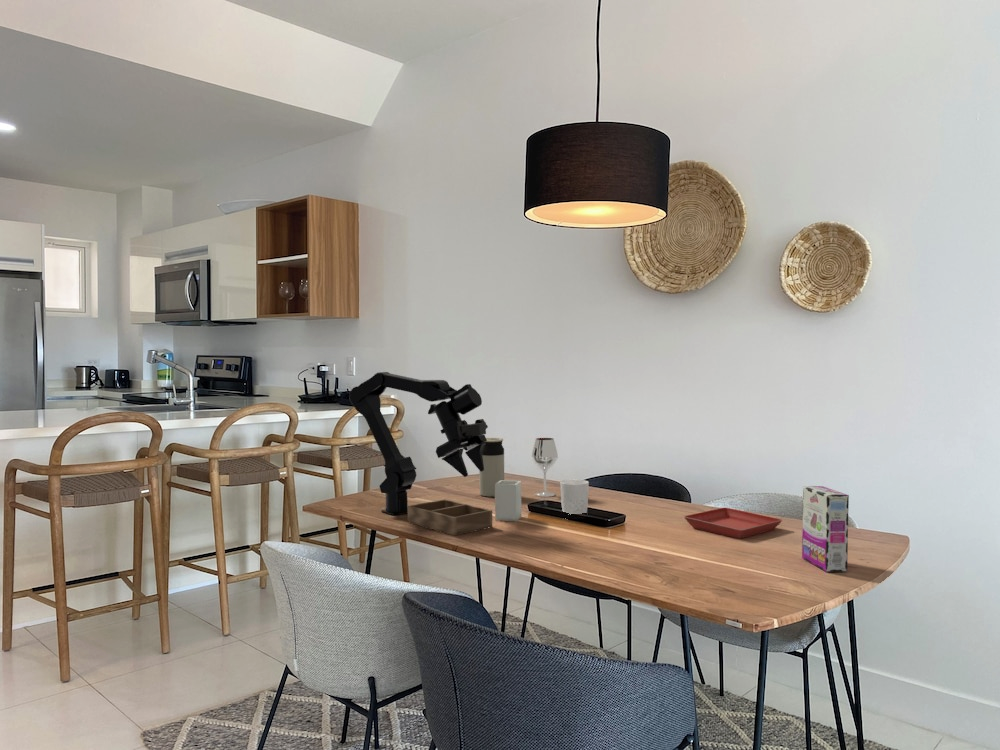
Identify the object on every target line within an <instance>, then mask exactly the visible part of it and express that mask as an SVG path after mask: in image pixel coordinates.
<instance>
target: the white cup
mask: <svg viewBox="0 0 1000 750" xmlns="http://www.w3.org/2000/svg"><path fill="white" fill-rule="evenodd" d="M589 483H590V482H589V481H588V480H586V479H585V480H584V479H576V478H575V479H564V480H561V481H560V483H559V485H560V486H559V487H560V501H561V508H562V509H561V510H562V511H563V512H566V513H569V514H570V515H571V514H582V513H587V514H588V506H589V505H588V504H589V485H590V484H589ZM569 514H568V515H569ZM565 520H567V519H566V518H565Z"/></svg>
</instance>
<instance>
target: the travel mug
mask: <svg viewBox="0 0 1000 750" xmlns="http://www.w3.org/2000/svg"><path fill="white" fill-rule="evenodd" d="M486 439H487V441H486V442H484V443H486V444H485V445H484V447H483V449H482V457H483V464H484V471H482V472H481V471H480V470H479V469H478V471H479V473H478V475H479V476H478V477H479V478H478V479H479V495H480V496H482V497H485V496H486V498H490V497H491V498H495V484H496V483H497V482H499V481H500V480H505V448H504V446H503V441H504V438H501V437H486Z"/></svg>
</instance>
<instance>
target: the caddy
mask: <svg viewBox="0 0 1000 750" xmlns="http://www.w3.org/2000/svg"><path fill="white" fill-rule="evenodd" d="M520 518H522V480H505V479H504V480H500V481H499V482H497V483H496V484H495V497H494V520H495V521H499V520H505V521H504V522H518V520H519V519H520Z"/></svg>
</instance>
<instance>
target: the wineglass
mask: <svg viewBox="0 0 1000 750" xmlns="http://www.w3.org/2000/svg"><path fill="white" fill-rule="evenodd" d="M531 458H532V461H533V463H534V464H535V465H536V466H537V467H538V468H539V469H540V470H541V471H542V473H543V490H542V491H543V492H536V493H535V494H534V496H537V497H541V498H546V497H547V498H548V497H550V498H551V497H554V496H556V494H555V492H554V493H553V492H548V491H547V472H548V471H549V470H550V469H551V468H552V467H553V466H554V465H555V464H556V463H557V461H558V450H557V446H556V443H555V439H554V438H552V437H538V438H537V437H536V438H535V441H534V445H533V449H532V453H531Z"/></svg>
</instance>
